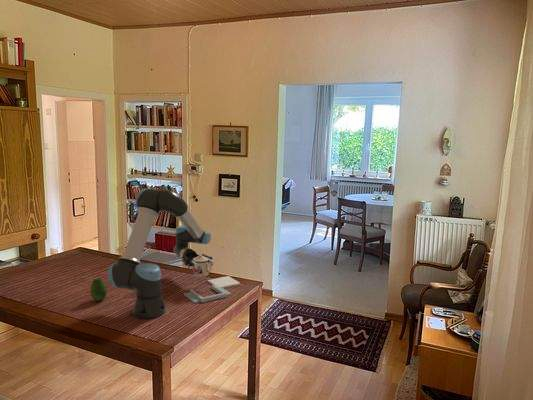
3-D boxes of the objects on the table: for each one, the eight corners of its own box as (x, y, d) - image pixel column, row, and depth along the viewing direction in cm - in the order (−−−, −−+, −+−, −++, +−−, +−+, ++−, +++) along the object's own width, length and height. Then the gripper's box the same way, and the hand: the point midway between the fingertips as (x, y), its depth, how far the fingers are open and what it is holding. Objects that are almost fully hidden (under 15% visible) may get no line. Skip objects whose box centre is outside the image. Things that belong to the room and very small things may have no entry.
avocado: (91, 298, 211) (90, 276, 209) (107, 296, 214) (106, 275, 212) (90, 304, 204) (89, 281, 202) (107, 302, 206) (106, 280, 204)
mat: (219, 289, 227) (219, 287, 227) (207, 281, 239) (207, 280, 238) (240, 284, 235) (240, 282, 235) (228, 277, 247) (228, 276, 246)
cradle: (195, 304, 206) (195, 300, 206) (183, 294, 218) (183, 291, 218) (232, 295, 219) (232, 291, 218) (219, 286, 231) (219, 283, 231)
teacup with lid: (189, 275, 225) (189, 255, 223) (199, 271, 233) (199, 251, 231) (206, 279, 220) (206, 258, 218) (216, 274, 227) (216, 254, 226)
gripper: (205, 258, 246) (222, 268, 228) (171, 263, 234) (186, 274, 216) (205, 246, 245) (222, 255, 227) (171, 251, 233) (186, 261, 215)
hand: (205, 265), depth 221 cm, fingers closed on teacup with lid, 9 cm apart
